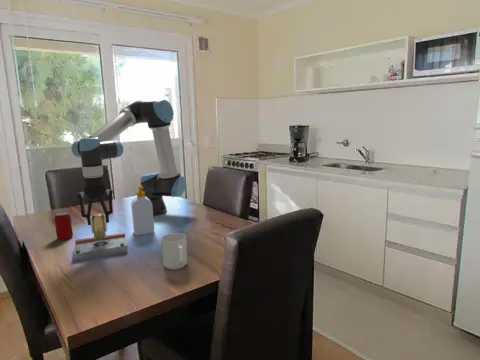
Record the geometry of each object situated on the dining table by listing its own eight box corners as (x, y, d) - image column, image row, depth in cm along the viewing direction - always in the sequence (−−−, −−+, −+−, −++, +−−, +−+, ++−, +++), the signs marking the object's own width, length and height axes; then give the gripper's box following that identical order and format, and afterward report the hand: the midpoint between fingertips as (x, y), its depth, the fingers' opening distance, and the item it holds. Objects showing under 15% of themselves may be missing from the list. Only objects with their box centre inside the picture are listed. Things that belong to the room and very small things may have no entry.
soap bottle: (152, 228, 166) (148, 183, 162) (154, 232, 160) (150, 186, 155) (133, 231, 163) (129, 185, 158) (135, 235, 156) (130, 188, 152)
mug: (160, 263, 126) (158, 236, 123) (182, 258, 130) (180, 231, 128) (170, 276, 115) (168, 246, 113) (194, 269, 120) (192, 240, 118)
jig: (125, 241, 150) (124, 232, 149) (127, 252, 137) (126, 243, 136) (76, 248, 142) (75, 239, 142) (74, 261, 130) (72, 251, 129)
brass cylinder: (106, 235, 141) (103, 213, 140) (106, 239, 137) (103, 215, 135) (94, 237, 140) (92, 214, 138) (94, 240, 136) (91, 217, 134)
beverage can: (76, 236, 158) (73, 211, 155) (64, 241, 151) (61, 216, 149) (65, 234, 160) (62, 210, 158) (53, 239, 154) (50, 215, 151)
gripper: (116, 173, 140) (121, 225, 145) (70, 176, 134) (77, 231, 138) (116, 175, 133) (122, 230, 138) (68, 179, 127) (75, 237, 131)
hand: (99, 231), depth 138 cm, fingers closed on brass cylinder, 4 cm apart
